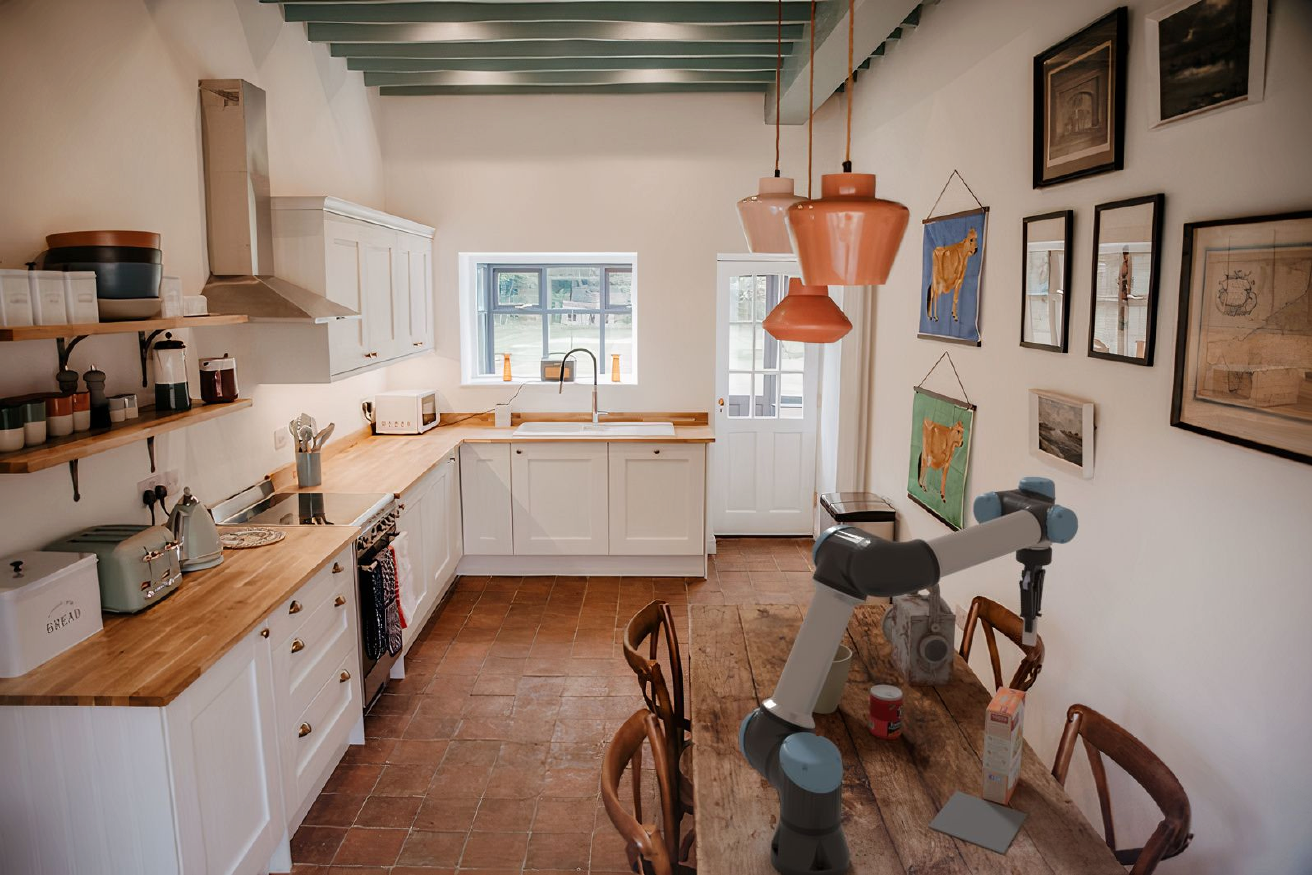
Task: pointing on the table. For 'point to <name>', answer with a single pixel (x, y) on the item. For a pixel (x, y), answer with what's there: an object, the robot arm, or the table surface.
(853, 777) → the table surface
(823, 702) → the plant pot
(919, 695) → the table surface
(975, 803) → the mat
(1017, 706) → the cracker box
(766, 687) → the table surface
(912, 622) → the lantern
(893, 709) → the canned food
